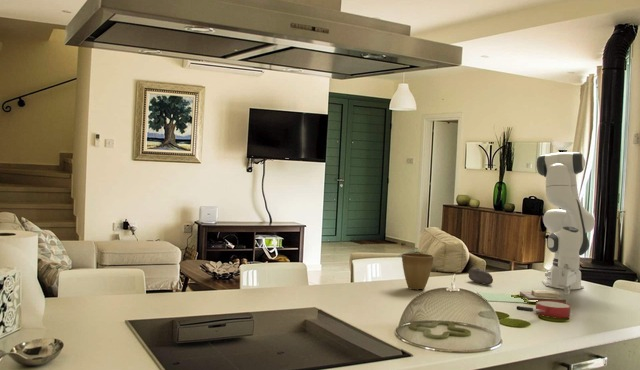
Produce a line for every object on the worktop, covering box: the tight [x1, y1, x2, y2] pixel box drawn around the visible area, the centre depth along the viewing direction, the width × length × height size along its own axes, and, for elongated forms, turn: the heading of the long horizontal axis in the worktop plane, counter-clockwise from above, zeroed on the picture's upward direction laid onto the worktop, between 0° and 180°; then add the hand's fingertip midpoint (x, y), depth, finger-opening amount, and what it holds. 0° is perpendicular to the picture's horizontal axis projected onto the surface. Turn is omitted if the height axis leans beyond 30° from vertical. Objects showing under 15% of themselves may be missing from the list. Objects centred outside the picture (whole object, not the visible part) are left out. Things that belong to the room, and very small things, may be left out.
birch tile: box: [531, 289, 560, 298], centre depth 278 cm, size 6×10×2 cm, turn 88°
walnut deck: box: [519, 291, 567, 304], centre depth 278 cm, size 14×16×2 cm
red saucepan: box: [516, 300, 572, 319], centre depth 243 cm, size 32×13×6 cm, turn 136°
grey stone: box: [468, 267, 494, 286], centre depth 313 cm, size 15×5×7 cm, turn 28°
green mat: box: [476, 291, 528, 304], centre depth 278 cm, size 18×18×1 cm
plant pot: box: [401, 252, 435, 290], centre depth 290 cm, size 15×15×16 cm
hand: (566, 294), depth 277 cm, fingers closed
